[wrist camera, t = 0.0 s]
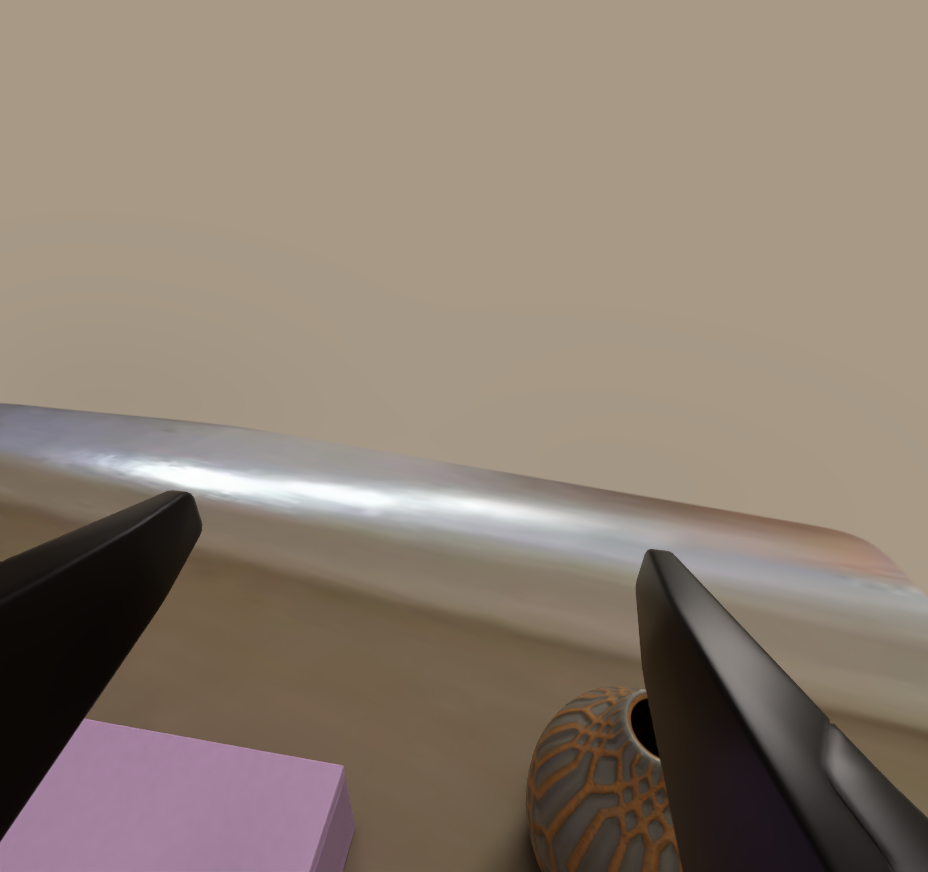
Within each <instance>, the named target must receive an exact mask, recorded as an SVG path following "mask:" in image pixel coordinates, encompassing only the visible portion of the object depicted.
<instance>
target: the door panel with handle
mask: <svg viewBox="0 0 928 872" xmlns="http://www.w3.org/2000/svg"><path fill="white" fill-rule="evenodd" d="M344 776H345V771H344V766H342V765H337V764H332V763H326V762H320V761H315V760H309V759H304V758H298V757H293V756H287V755H282V754H276V753H271V752H265V751H260V750H254V749H249V748H243V747H238V746H232V745H227V744H221V743H215V742H210V741H204V740H199V739H193V738H188V737H182V736H177V735H171V734H166V733H160V732H155V731H149V730H144V729H138V728H133V727H127V726H122V725H116V724H111V723H105V722H99V721H94V720H88V719H84V720H83V721H82V723H81V724H80V726H79V727H78V729H77V730H76V732H75V733H74V735H73V736H72V737H71V739H70V740H69V742H68V743H67V745H66V746H65V748H64V749H63V751H62V752H61V754H60V755H59V757H58V758H57V760H56V761H55V763H54V764H53V765H52V767H51V768H50V770H49V771H48V773H47V774H46V776H45V777H44V779H43V780H42V782H41V783H40V785H39V786H38V788H37V789H36V790H35V792H34V793H33V795H32V796H31V798H30V799H29V801H28V802H27V804H26V805H25V807H24V808H23V810H22V811H21V813H20V814H19V816H18V817H17V818H16V820H15V821H14V823H13V824H12V826H11V827H10V829H9V830H8V832H7V833H6V835H5V836H4V838H3V839H2V841H1V842H0V872H314V870H315V867H316V864H317V860H318V857H319V854H320V851H321V848H322V845H323V842H324V839H325V835H326V832H327V829H328V826H329V823H330V820H331V817H332V813H333V810H334V807H335V804H336V801H337V798H338V795H339V792H340V788H341V785H342V782H343V779H344Z"/></svg>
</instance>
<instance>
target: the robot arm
mask: <svg viewBox="0 0 928 872" xmlns="http://www.w3.org/2000/svg"><path fill="white" fill-rule="evenodd" d="M201 531H202V521H201V518H200V515H199V512H198V509H197V505H196V502H195V499H194V497H193V496H192V495H191V494H190V493H188V492H182V491H174V490H173V491H167V492H164V493H162V494H159V495H157V496H155V497H152V498H150V499H148V500H145V501H143V502H141V503H138V504H136V505H133V506H131V507H129V508H126V509H124V510H122V511H119V512H117V513H115V514H112V515H110V516H107V517H105V518H103V519H100V520H98V521H96V522H93V523H91V524H89V525H86V526H84V527H81V528H79V529H77V530H74V531H72V532H70V533H67V534H65V535H63V536H60V537H58V538H55V539H53V540H51V541H48V542H46V543H44V544H41V545H39V546H37V547H34V548H32V549H30V550H27V551H25V552H22V553H20V554H18V555H15V556H13V557H11V558H8V559H6V560H4V561H1V562H0V842H1V841H2V839H3V838H4V836H5V835H6V833H7V832H8V830H9V829H10V827H11V826H12V824H13V823H14V821H15V820H16V818H17V817H18V816H19V814H20V813H21V811H22V810H23V808H24V807H25V805H26V804H27V802H28V801H29V799H30V798H31V796H32V795H33V793H34V792H35V790H36V789H37V788H38V786H39V785H40V783H41V782H42V780H43V779H44V777H45V776H46V774H47V773H48V771H49V770H50V768H51V767H52V765H53V764H54V763H55V761H56V760H57V758H58V757H59V755H60V754H61V752H62V751H63V749H64V748H65V746H66V745H67V743H68V742H69V740H70V739H71V737H72V736H73V735H74V733H75V732H76V730H77V729H78V727H79V726H80V724H81V723H82V721H83V720H84V718H85V717H86V715H87V714H88V712H89V711H90V709H91V708H92V707H93V705H94V704H95V702H96V701H97V699H98V698H99V696H100V695H101V693H102V692H103V690H104V689H105V687H106V686H107V684H108V683H109V682H110V680H111V679H112V677H113V676H114V674H115V673H116V671H117V670H118V668H119V667H120V665H121V664H122V662H123V661H124V659H125V658H126V656H127V655H128V654H129V652H130V651H131V649H132V648H133V646H134V645H135V643H136V642H137V640H138V639H139V637H140V636H141V634H142V633H143V631H144V630H145V628H146V627H147V626H148V624H149V623H150V621H151V620H152V618H153V617H154V615H155V614H156V612H157V611H158V609H159V608H160V606H161V605H162V603H163V601H164V600H165V598H166V596H167V595H168V593H169V591H170V590H171V588H172V586H173V584H174V582H175V580H176V579H177V577H178V575H179V573H180V571H181V569H182V568H183V566H184V564H185V562H186V560H187V558H188V557H189V555H190V553H191V551H192V549H193V547H194V546H195V544H196V542H197V540H198V538H199V536H200V534H201ZM636 600H637V612H638V624H639V636H640V648H641V660H642V670H643V676H644V682H645V688H646V692H647V697H648V702H649V707H650V712H651V717H652V722H653V727H654V732H655V737H656V742H657V747H658V752H659V757H660V762H661V767H662V772H663V777H664V782H665V787H666V792H667V797H668V802H669V807H670V812H671V817H672V822H673V827H674V832H675V837H676V842H677V847H678V851H679V856H680V861H681V866H682V871H683V872H928V818H927V817H926V816H925V815H924V814H923V813H922V812H921V811H920V810H919V809H918V808H917V807H916V806H915V805H914V804H913V803H912V802H911V801H910V800H908V799H907V798H906V797H905V796H904V795H903V794H902V793H901V792H900V791H899V790H898V789H897V788H896V787H895V786H894V785H893V784H892V783H891V782H890V781H889V780H888V779H887V778H886V777H885V776H884V775H883V774H882V773H881V772H880V771H879V770H878V769H877V768H876V767H875V766H874V765H873V764H872V763H871V761H870V760H869V759H868V758H867V757H866V756H865V755H864V754H863V753H862V752H861V751H860V750H859V749H858V748H857V747H856V746H855V745H854V744H853V743H852V742H851V741H850V740H849V739H848V738H847V737H846V736H845V734H844V733H843V732H842V731H841V730H840V729H839V728H838V727H837V726H836V725H835V724H830V720H829V718H828V717H827V716H826V715H825V714H824V713H823V712H822V710H821V709H820V708H819V707H818V706H817V705H816V704H815V703H814V702H813V701H812V700H811V699H810V698H809V697H808V696H807V695H806V694H805V692H804V691H803V690H802V689H801V688H800V687H799V686H798V685H797V684H796V683H795V682H794V681H793V680H792V679H791V678H790V677H789V676H788V675H787V673H786V672H785V671H784V670H783V669H782V668H781V667H780V666H779V665H778V664H777V663H776V662H775V661H774V660H773V659H772V658H771V657H770V656H769V654H768V653H767V652H766V651H765V650H764V649H763V648H762V647H761V646H760V645H759V644H758V643H757V642H756V641H755V640H754V639H753V638H752V636H751V635H750V634H749V633H748V632H747V631H746V630H745V629H744V628H743V627H742V626H741V625H740V624H739V623H738V622H737V621H736V620H735V619H734V617H733V616H732V615H731V614H730V613H729V612H728V611H727V610H726V609H725V608H724V607H723V606H722V605H721V604H720V603H719V602H718V601H717V600H716V598H715V597H714V596H713V595H712V594H711V593H710V592H709V591H708V590H707V589H706V588H705V587H704V586H703V585H702V584H701V583H700V582H699V580H698V579H697V578H696V577H695V576H694V575H693V574H692V573H691V572H690V571H689V570H688V569H687V568H686V567H685V566H684V565H683V564H682V563H681V561H680V560H679V559H678V558H677V557H676V556H675V555H674V554H673V553H671V552H669V551H663V550H655V549H650V550H647V552H646V553H645V555H644V558H643V562H642V565H641V568H640V571H639V574H638V578H637V582H636Z"/></svg>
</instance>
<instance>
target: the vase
mask: <svg viewBox="0 0 928 872" xmlns="http://www.w3.org/2000/svg"><path fill="white" fill-rule="evenodd" d="M526 815H527V824H528V830H529V835H530V840H531V843H532V847H533V851H534V854H535V857H536V860H537V863H538V865H539V868H540V870H541V872H683V871H682V866H681V861H680V856H679V851H678V847H677V842H676V837H675V832H674V827H673V822H672V817H671V812H670V807H669V802H668V797H667V792H666V787H665V782H664V777H663V772H662V767H661V762H660V757H659V752H658V747H657V742H656V737H655V732H654V727H653V722H652V717H651V712H650V707H649V702H648V697H647V692H646V688H642V689H636V688H630V687H618V686H617V687H605V688H599V689H595V690H592V691H590V692H587V693H585V694H582V695H581V696H579V697H577V698H575V699H574V700H572V701H571V702H570V703H568V704H567V705H566V706H565V707H563V708H562V709H561V710H560V711H559V712H558V713H557V714H556V715H555V717H554V718H553V719H552V720H551V721H550V723H549V724H548V725H547V727H546V728H545V730H544V732H543V733H542V735H541V737H540V739H539V741H538V743H537V745H536V748H535V751H534V754H533V757H532V761H531V764H530V769H529V774H528V781H527V791H526Z"/></svg>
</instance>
